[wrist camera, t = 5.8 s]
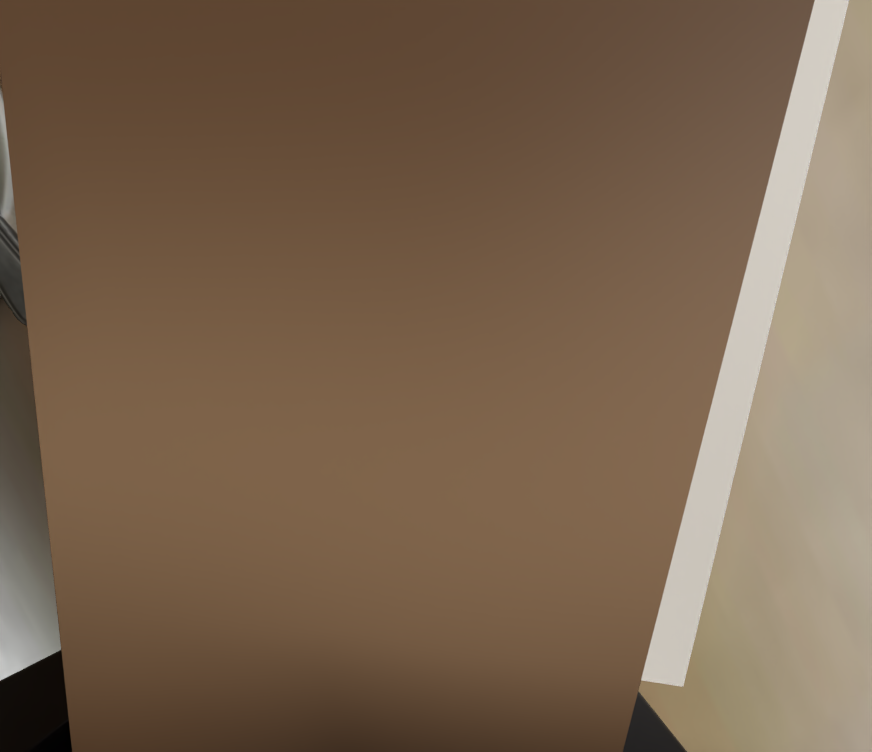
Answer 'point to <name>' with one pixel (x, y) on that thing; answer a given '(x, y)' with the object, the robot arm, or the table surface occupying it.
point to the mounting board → (743, 355)
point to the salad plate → (9, 232)
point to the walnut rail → (377, 351)
